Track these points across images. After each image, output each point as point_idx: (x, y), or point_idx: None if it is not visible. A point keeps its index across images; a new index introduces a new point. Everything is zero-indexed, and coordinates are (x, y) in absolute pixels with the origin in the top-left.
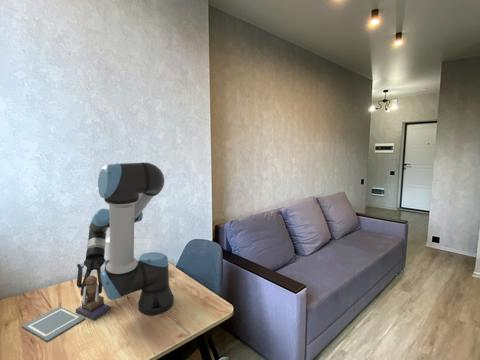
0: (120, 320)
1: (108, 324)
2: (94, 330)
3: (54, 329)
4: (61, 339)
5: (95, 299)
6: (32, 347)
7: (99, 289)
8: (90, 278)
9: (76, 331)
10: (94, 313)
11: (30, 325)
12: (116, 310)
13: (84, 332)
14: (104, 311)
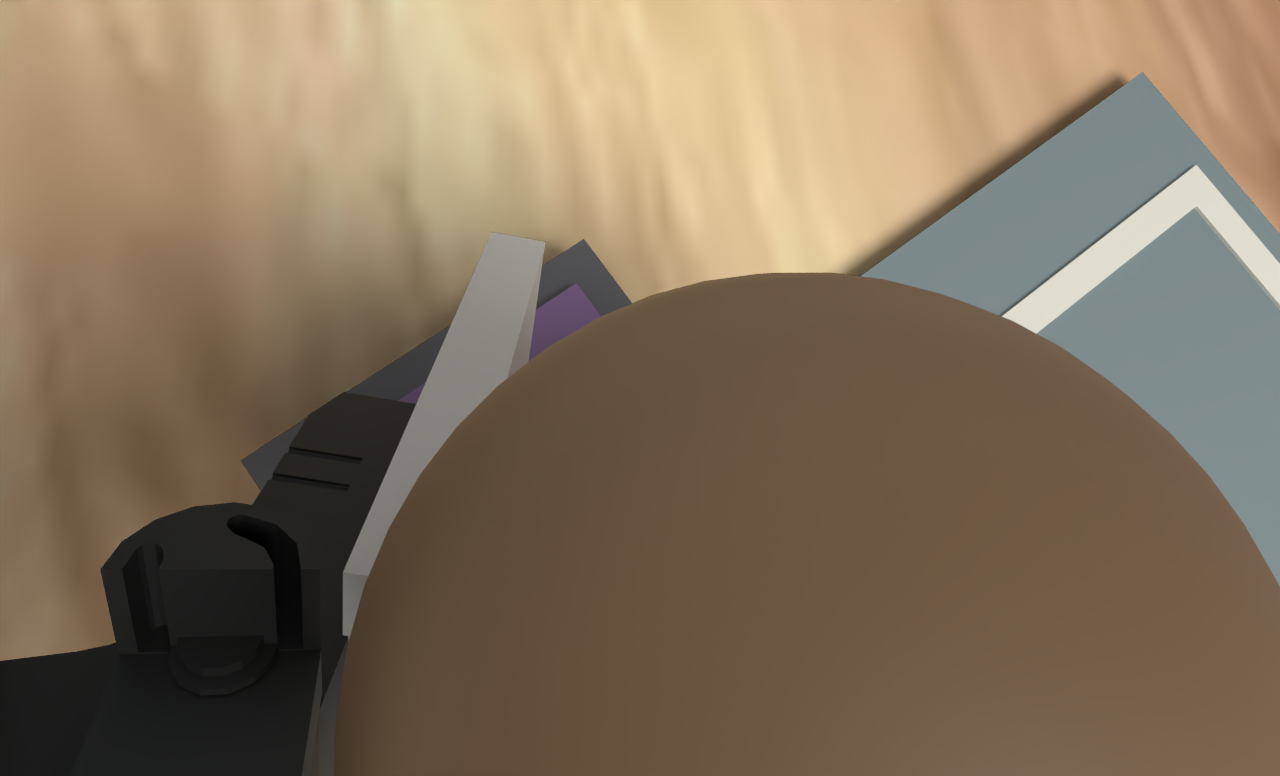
0: (151, 45)
1: (351, 42)
2: (558, 7)
3: (1124, 284)
4: (966, 46)
5: (531, 255)
6: (1260, 72)
7: (362, 472)
8: (944, 401)
9: (805, 119)
10: (567, 310)
11: None
12: (172, 395)
13: (693, 36)
14: (387, 376)
